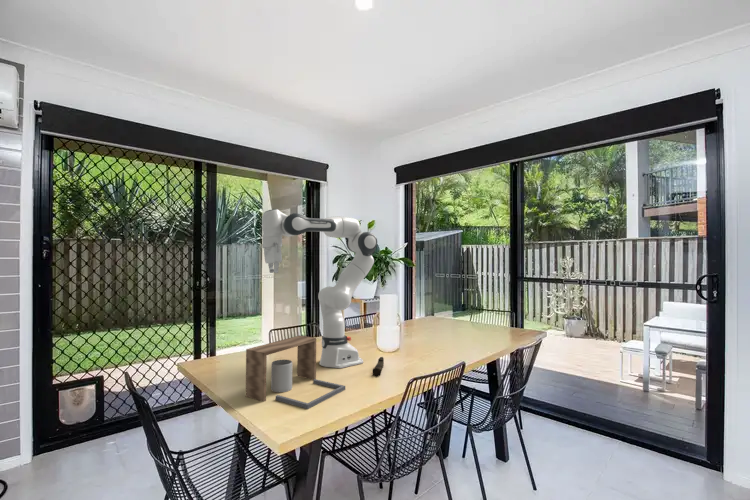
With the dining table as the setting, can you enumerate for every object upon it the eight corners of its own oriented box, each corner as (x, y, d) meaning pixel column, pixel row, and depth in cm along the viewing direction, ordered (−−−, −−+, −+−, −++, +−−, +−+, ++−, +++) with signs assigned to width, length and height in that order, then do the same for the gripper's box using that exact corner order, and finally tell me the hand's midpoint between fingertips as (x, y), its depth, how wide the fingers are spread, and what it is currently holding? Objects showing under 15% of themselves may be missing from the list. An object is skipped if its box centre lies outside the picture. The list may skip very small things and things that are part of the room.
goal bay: (275, 399, 143) (275, 396, 143) (315, 382, 163) (315, 379, 163) (307, 409, 135) (307, 404, 135) (345, 389, 155) (345, 385, 155)
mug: (288, 393, 151) (288, 365, 151) (267, 392, 151) (268, 364, 152) (297, 382, 163) (297, 357, 163) (278, 382, 163) (278, 356, 163)
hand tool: (380, 377, 172) (380, 367, 172) (372, 376, 173) (372, 366, 173) (387, 365, 190) (387, 356, 190) (379, 364, 191) (379, 355, 191)
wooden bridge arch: (245, 396, 146) (246, 349, 147) (299, 375, 173) (299, 335, 173) (263, 401, 141) (264, 352, 142) (315, 379, 167) (316, 337, 168)
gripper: (284, 242, 169) (286, 272, 169) (274, 244, 188) (275, 272, 187) (270, 242, 166) (271, 273, 166) (261, 245, 185) (262, 273, 184)
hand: (273, 272), depth 177 cm, fingers open, 8 cm apart
